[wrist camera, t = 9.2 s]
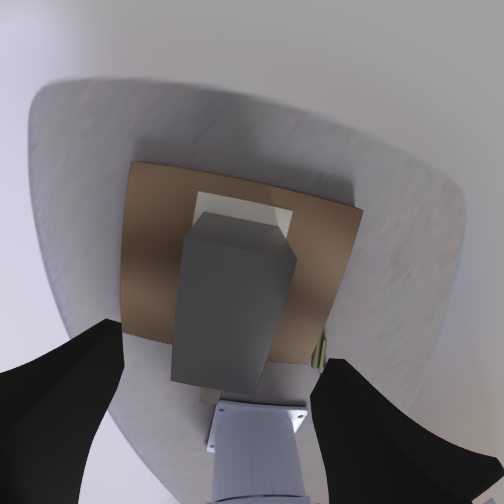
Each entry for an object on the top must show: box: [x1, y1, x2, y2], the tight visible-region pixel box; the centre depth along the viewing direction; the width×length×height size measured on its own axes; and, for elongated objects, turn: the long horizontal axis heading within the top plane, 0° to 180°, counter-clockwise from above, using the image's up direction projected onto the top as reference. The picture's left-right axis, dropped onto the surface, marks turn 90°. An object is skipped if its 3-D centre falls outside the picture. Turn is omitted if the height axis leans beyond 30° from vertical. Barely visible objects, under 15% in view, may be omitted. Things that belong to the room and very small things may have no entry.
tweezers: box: [311, 330, 327, 376], centre depth 20 cm, size 12×2×1 cm, turn 11°
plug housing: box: [171, 212, 297, 404], centre depth 13 cm, size 9×4×5 cm, turn 168°
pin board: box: [120, 161, 363, 365], centre depth 15 cm, size 11×13×4 cm
